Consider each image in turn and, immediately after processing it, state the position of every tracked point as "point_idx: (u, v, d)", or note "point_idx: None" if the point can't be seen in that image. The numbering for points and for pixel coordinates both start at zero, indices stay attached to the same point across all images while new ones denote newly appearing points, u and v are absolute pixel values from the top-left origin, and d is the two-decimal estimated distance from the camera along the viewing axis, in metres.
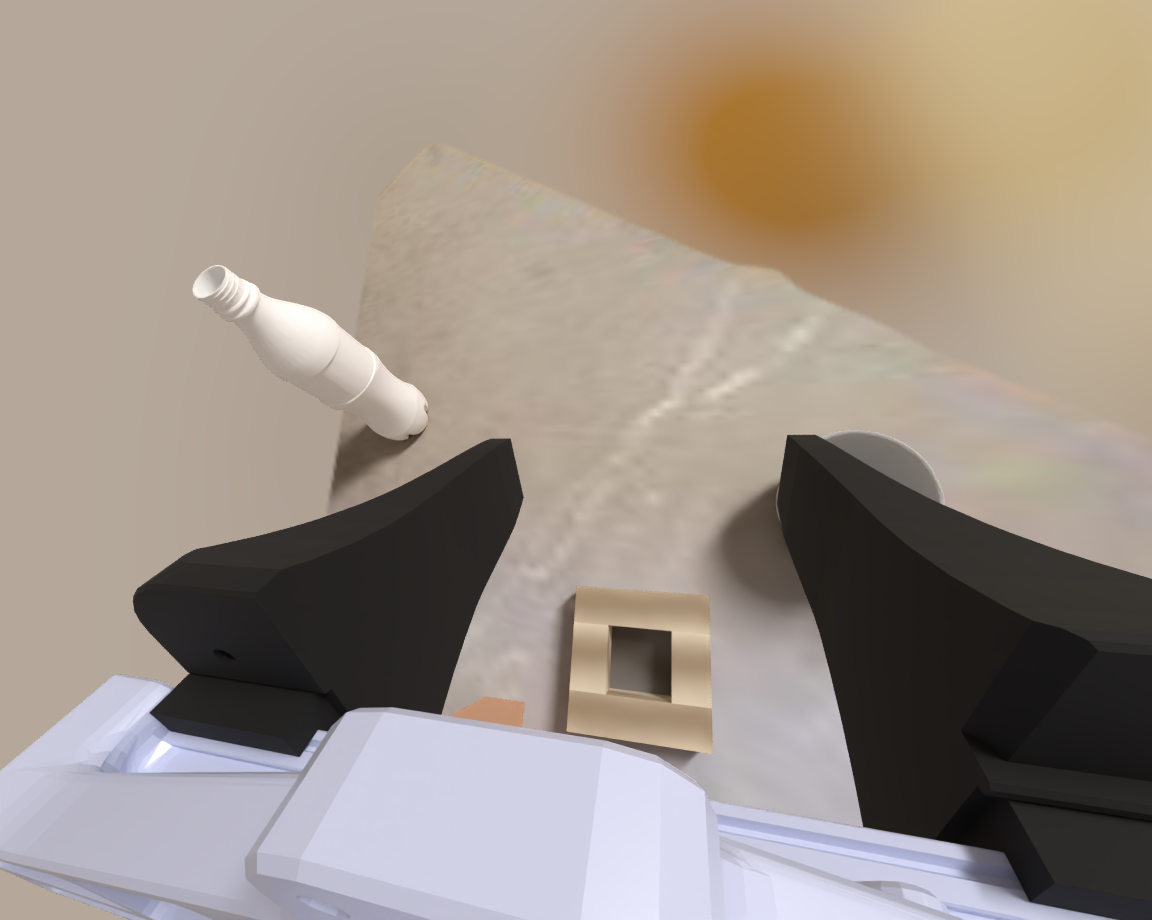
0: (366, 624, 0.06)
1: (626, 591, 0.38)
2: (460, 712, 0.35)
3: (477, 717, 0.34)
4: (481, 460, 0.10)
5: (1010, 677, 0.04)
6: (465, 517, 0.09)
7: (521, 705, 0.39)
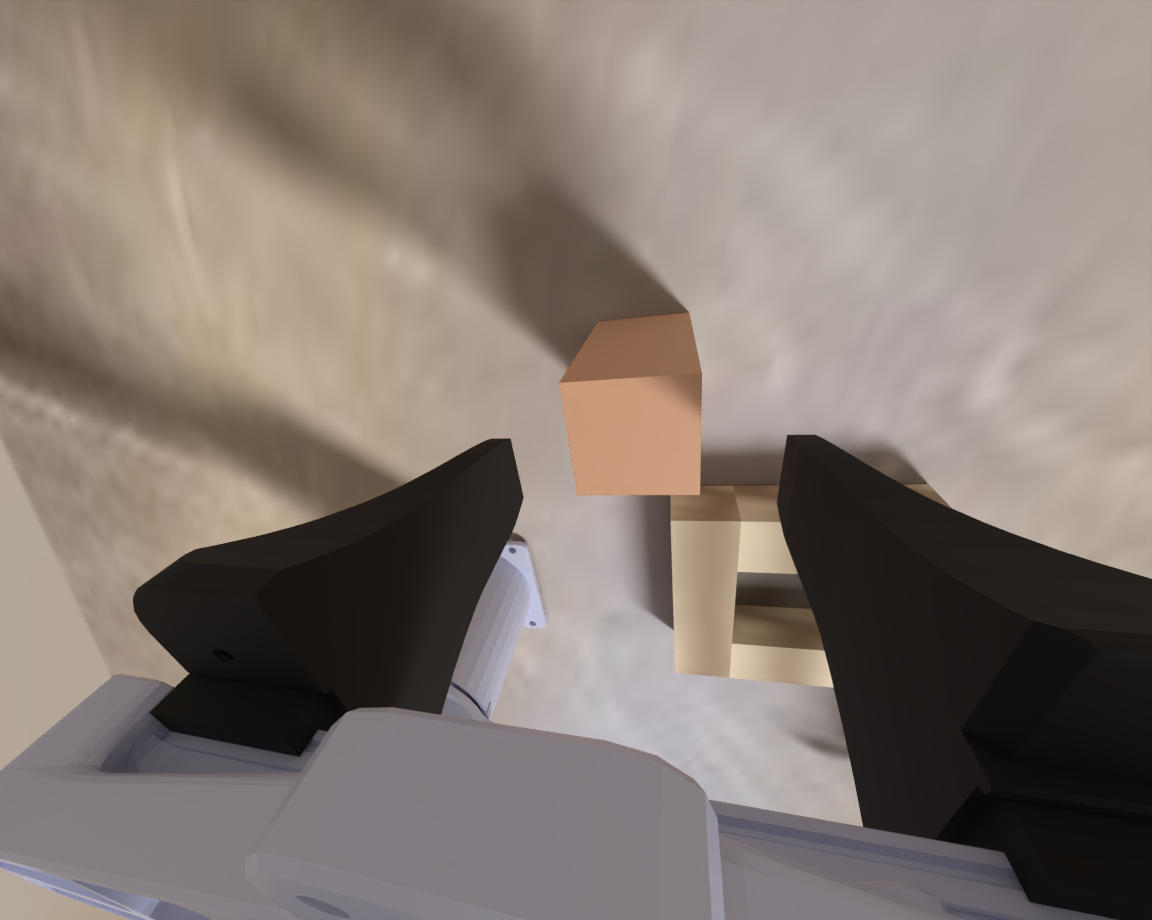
0: (366, 624, 0.06)
1: None
2: None
3: None
4: (481, 460, 0.10)
5: (1010, 677, 0.04)
6: (465, 517, 0.09)
7: None
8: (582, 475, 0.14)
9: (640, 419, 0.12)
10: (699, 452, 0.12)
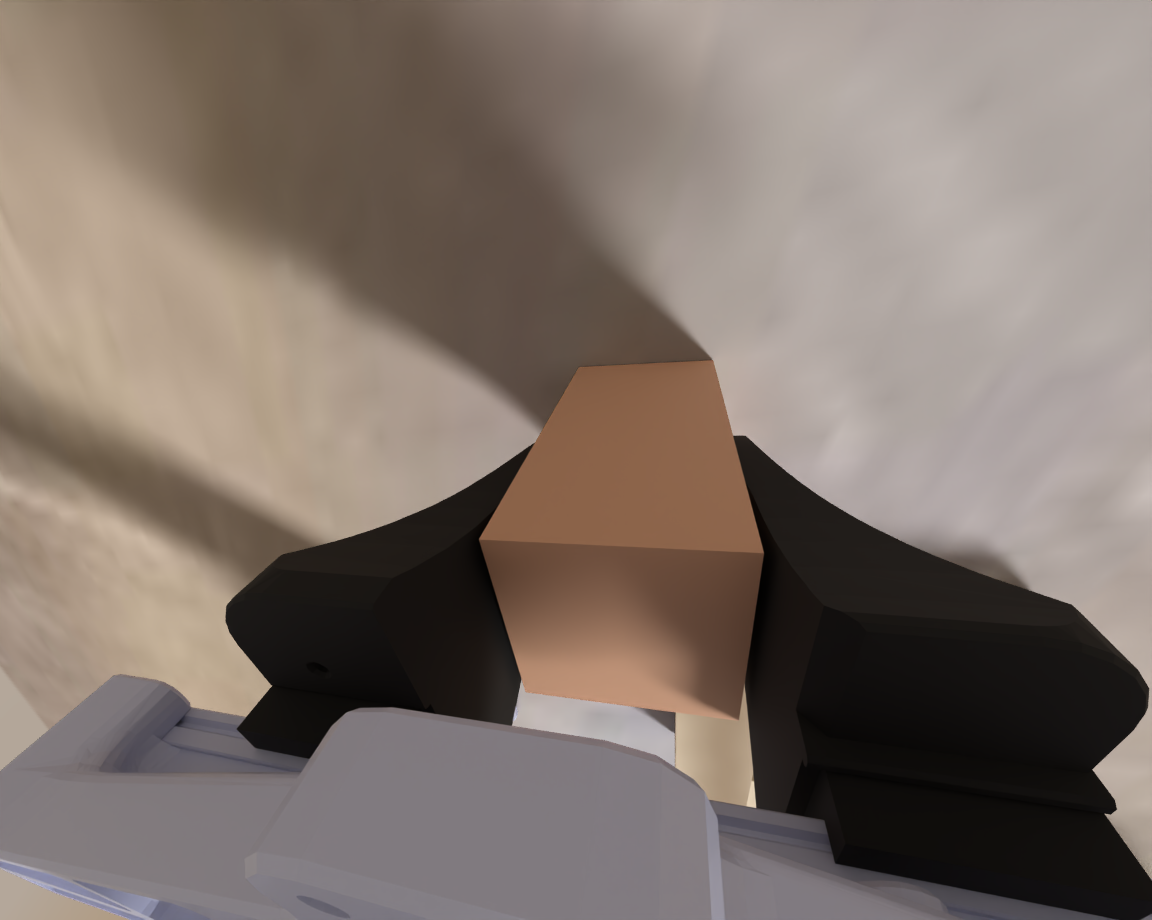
0: (456, 633, 0.06)
1: None
2: None
3: None
4: None
5: (819, 658, 0.04)
6: None
7: None
8: (532, 669, 0.08)
9: (635, 609, 0.06)
10: (744, 668, 0.07)
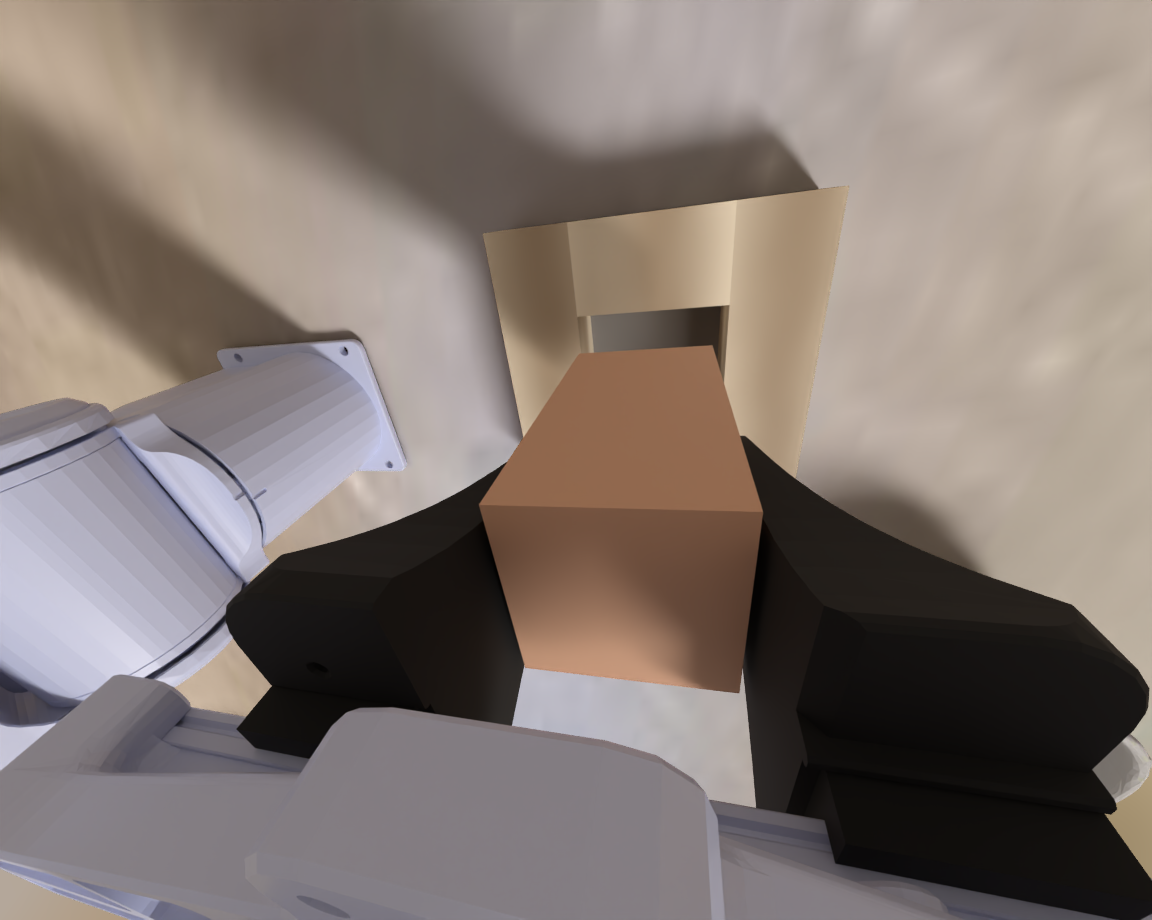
0: (456, 634, 0.06)
1: (815, 342, 0.15)
2: None
3: None
4: None
5: (818, 659, 0.04)
6: None
7: None
8: (532, 643, 0.08)
9: (634, 576, 0.06)
10: (744, 635, 0.07)
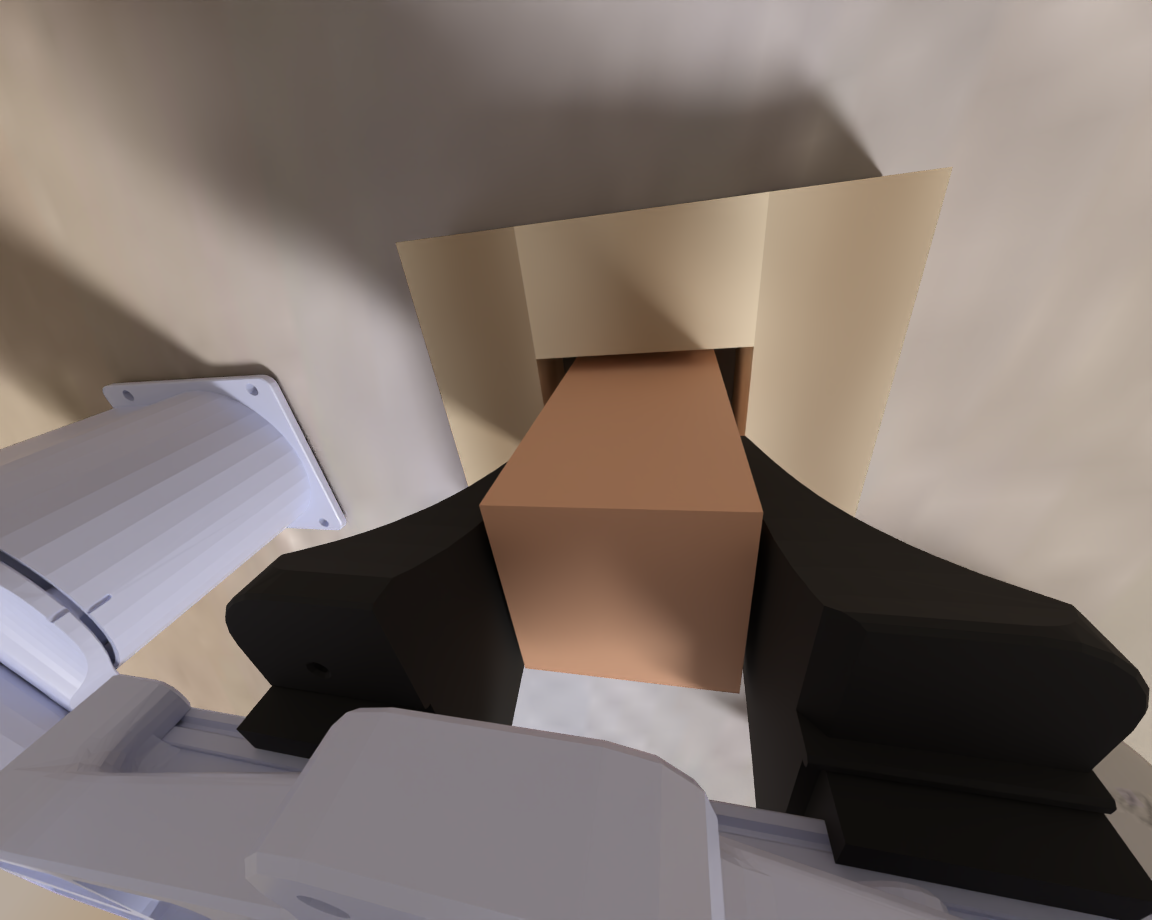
0: (456, 634, 0.06)
1: (879, 401, 0.10)
2: None
3: None
4: None
5: (818, 658, 0.04)
6: None
7: None
8: (532, 643, 0.08)
9: (634, 577, 0.06)
10: (744, 636, 0.07)
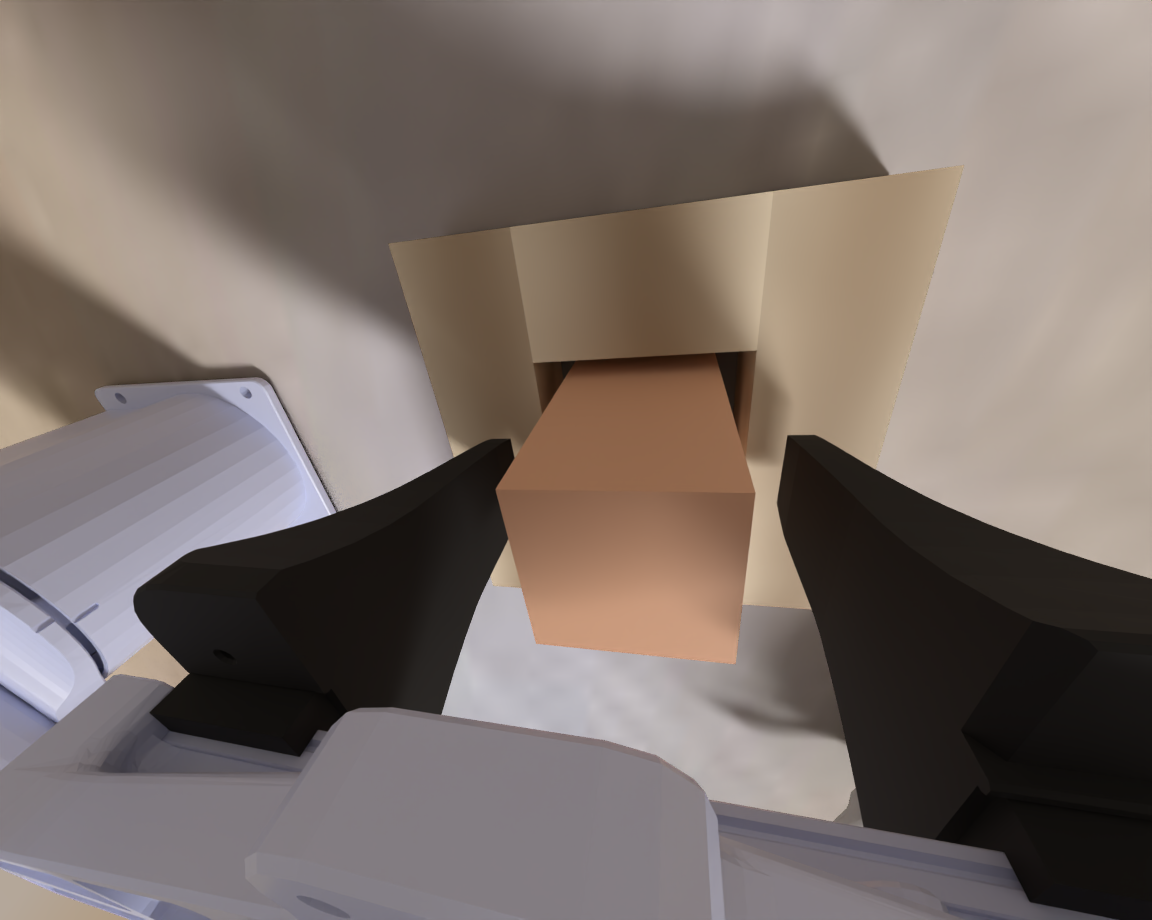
0: (366, 624, 0.06)
1: (885, 406, 0.10)
2: None
3: None
4: (481, 460, 0.10)
5: (1010, 677, 0.04)
6: (465, 517, 0.09)
7: None
8: (542, 619, 0.08)
9: (639, 555, 0.07)
10: (739, 609, 0.07)
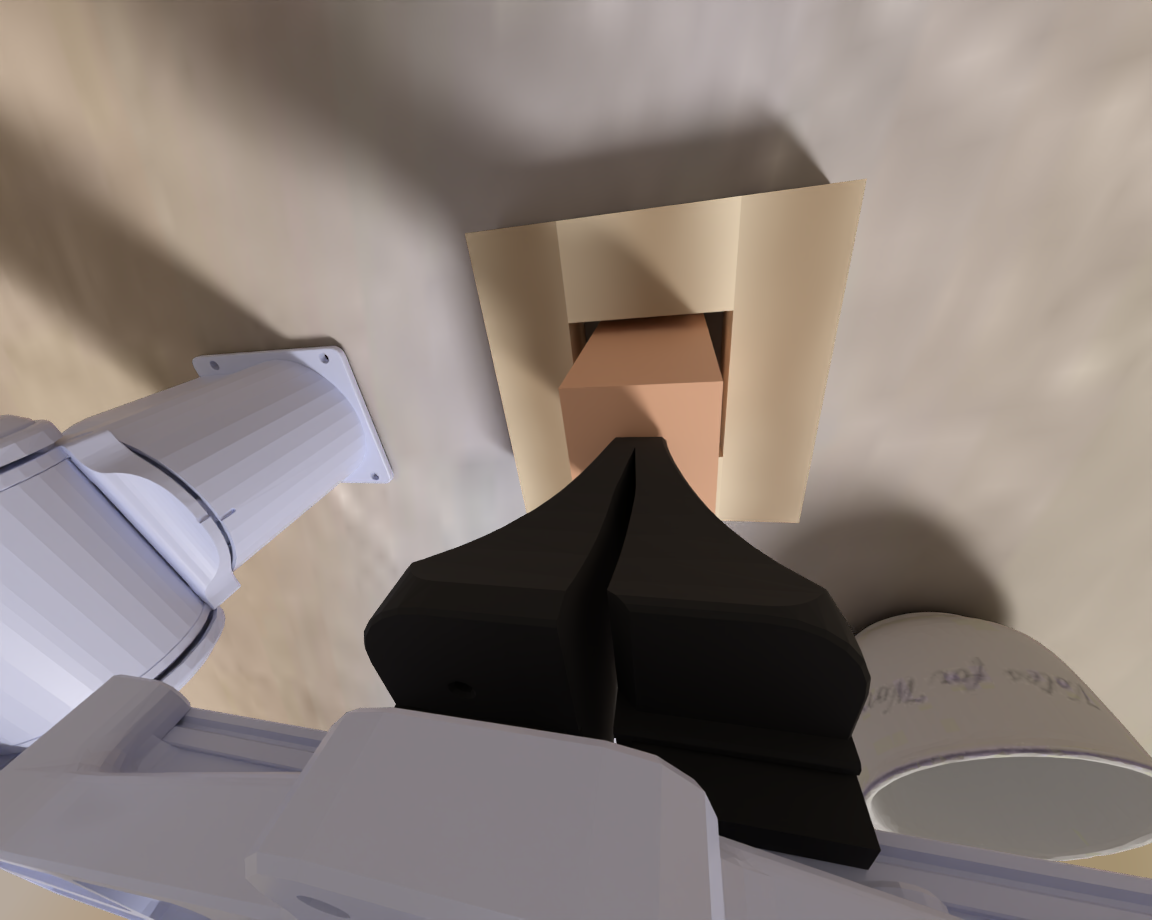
0: (591, 648, 0.06)
1: (827, 351, 0.14)
2: None
3: None
4: (629, 460, 0.09)
5: (615, 638, 0.04)
6: (621, 522, 0.08)
7: None
8: None
9: (650, 432, 0.11)
10: (716, 470, 0.11)
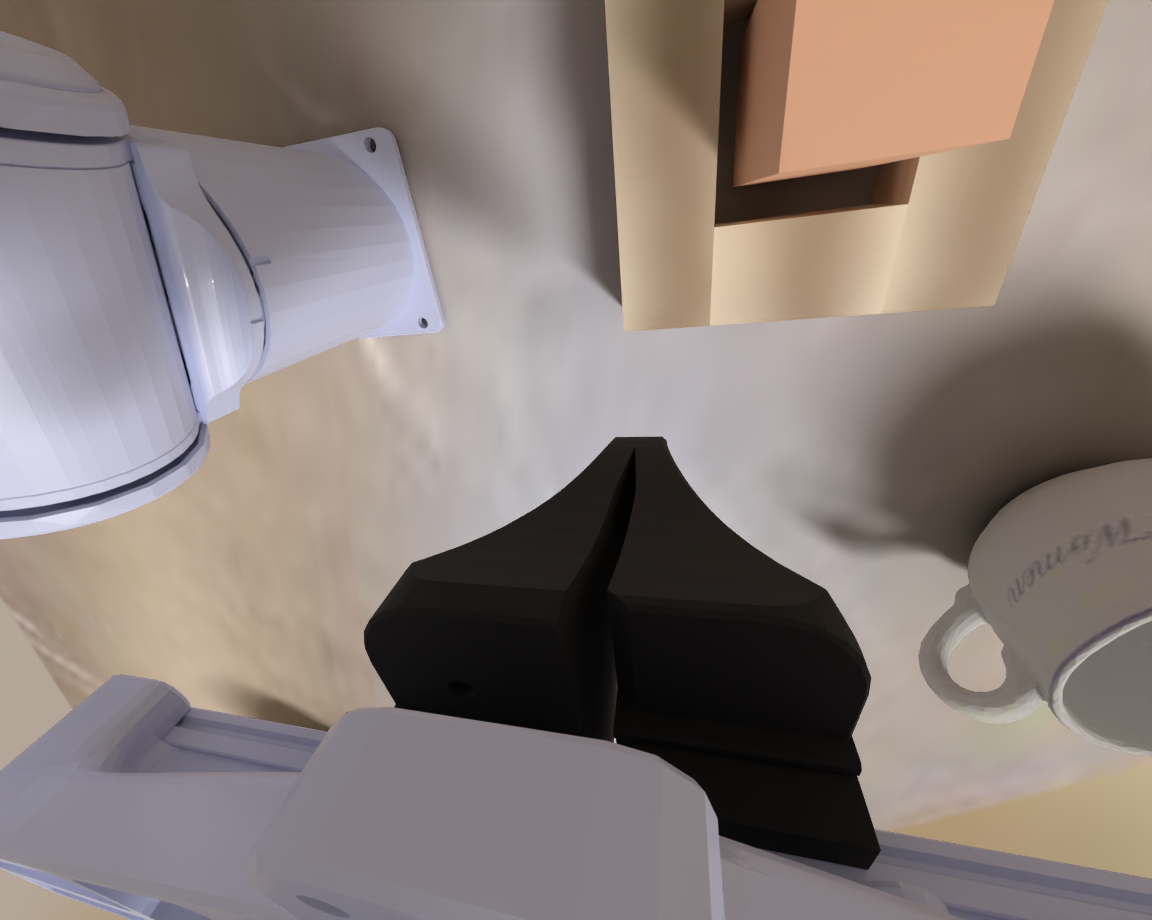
0: (591, 648, 0.06)
1: None
2: None
3: None
4: (629, 460, 0.09)
5: (616, 639, 0.04)
6: (621, 523, 0.08)
7: (859, 168, 0.14)
8: (799, 122, 0.08)
9: None
10: (1044, 25, 0.07)
